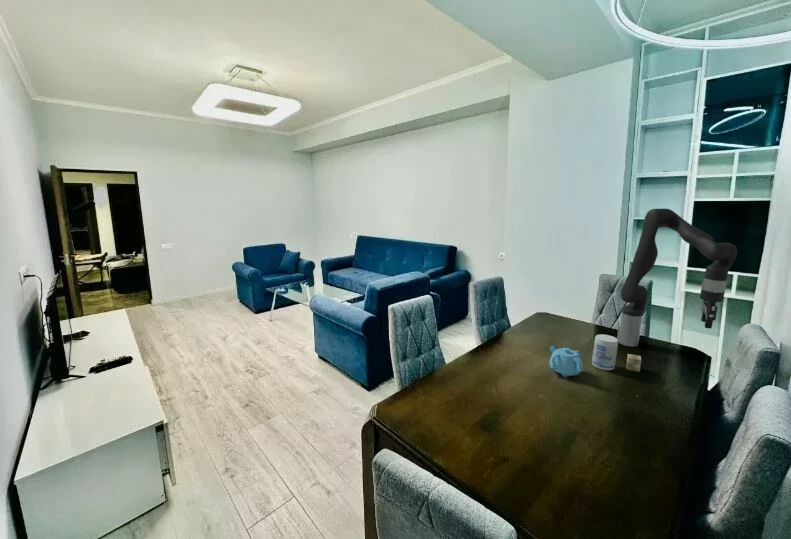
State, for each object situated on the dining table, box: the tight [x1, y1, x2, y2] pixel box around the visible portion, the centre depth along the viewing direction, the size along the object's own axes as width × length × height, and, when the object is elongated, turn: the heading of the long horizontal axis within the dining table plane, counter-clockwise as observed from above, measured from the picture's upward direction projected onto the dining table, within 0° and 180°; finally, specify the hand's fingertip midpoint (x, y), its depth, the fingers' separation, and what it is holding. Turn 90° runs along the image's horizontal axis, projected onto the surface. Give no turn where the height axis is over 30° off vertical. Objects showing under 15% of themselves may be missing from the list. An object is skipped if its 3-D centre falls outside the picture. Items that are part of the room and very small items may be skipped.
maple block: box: [626, 353, 642, 373], centre depth 164 cm, size 5×5×6 cm
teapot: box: [549, 345, 584, 378], centre depth 161 cm, size 20×17×12 cm
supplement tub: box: [591, 333, 619, 371], centre depth 165 cm, size 10×10×15 cm
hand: (706, 324), depth 151 cm, fingers open, 8 cm apart
